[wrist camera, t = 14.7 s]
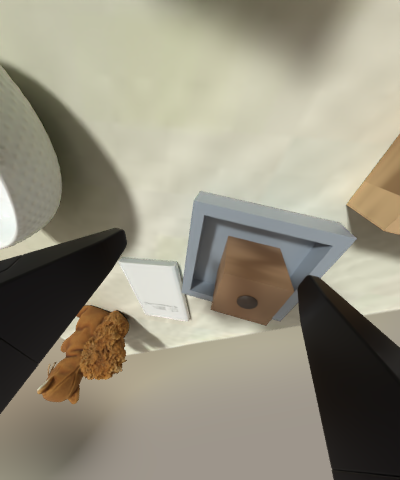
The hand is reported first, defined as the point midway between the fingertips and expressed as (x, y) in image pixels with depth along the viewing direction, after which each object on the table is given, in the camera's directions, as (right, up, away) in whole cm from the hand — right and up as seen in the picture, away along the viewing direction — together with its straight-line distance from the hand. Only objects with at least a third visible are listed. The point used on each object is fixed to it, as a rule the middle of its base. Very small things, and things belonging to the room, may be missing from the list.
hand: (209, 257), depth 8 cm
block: (+4, -1, +9) cm, 10 cm away
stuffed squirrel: (-19, -16, +26) cm, 36 cm away
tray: (+4, -1, +9) cm, 10 cm away
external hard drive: (-7, -6, +17) cm, 19 cm away
